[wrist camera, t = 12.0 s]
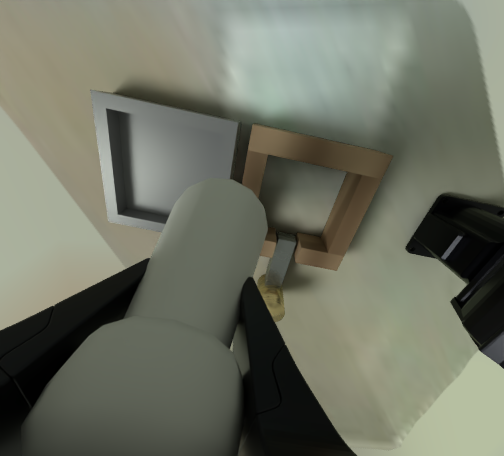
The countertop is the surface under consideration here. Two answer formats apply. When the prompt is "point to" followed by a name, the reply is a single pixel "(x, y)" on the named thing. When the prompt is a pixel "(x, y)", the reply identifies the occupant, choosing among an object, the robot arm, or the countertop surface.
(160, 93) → the countertop surface
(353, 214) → the socket block
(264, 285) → the key
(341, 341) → the countertop surface
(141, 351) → the salt shaker
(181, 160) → the tray
